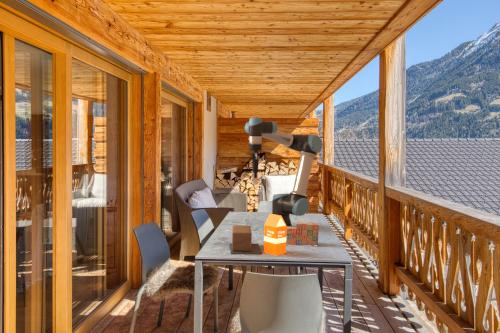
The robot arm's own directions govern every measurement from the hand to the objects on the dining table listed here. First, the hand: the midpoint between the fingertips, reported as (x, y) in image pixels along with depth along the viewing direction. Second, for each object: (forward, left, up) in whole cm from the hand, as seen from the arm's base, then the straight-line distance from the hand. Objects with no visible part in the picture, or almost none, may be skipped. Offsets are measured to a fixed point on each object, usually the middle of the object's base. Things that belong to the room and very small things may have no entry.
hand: (255, 183), depth 260 cm
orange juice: (-8, +35, -33) cm, 49 cm away
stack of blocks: (-24, +15, -33) cm, 44 cm away
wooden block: (+9, +16, -27) cm, 33 cm away
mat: (+7, +28, -33) cm, 44 cm away
